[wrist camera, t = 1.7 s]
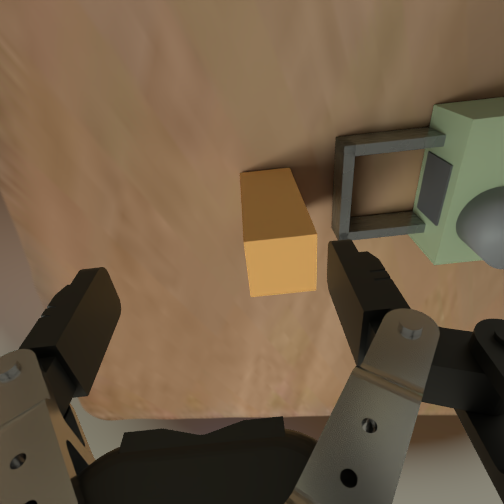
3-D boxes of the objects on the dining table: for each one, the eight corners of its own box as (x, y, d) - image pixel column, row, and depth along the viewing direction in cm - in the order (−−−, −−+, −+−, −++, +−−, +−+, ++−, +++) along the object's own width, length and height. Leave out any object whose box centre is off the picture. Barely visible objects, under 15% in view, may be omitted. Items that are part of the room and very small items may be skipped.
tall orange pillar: (239, 172, 33) (243, 242, 22) (289, 167, 33) (317, 234, 22) (245, 216, 36) (250, 297, 25) (290, 211, 36) (316, 290, 25)
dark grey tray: (335, 137, 32) (344, 146, 29) (429, 126, 32) (446, 135, 29) (331, 227, 37) (338, 241, 35) (411, 218, 37) (424, 232, 35)
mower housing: (431, 105, 30) (506, 133, 22) (510, 96, 30) (614, 121, 22) (406, 234, 38) (454, 291, 30) (468, 228, 38) (534, 282, 30)
